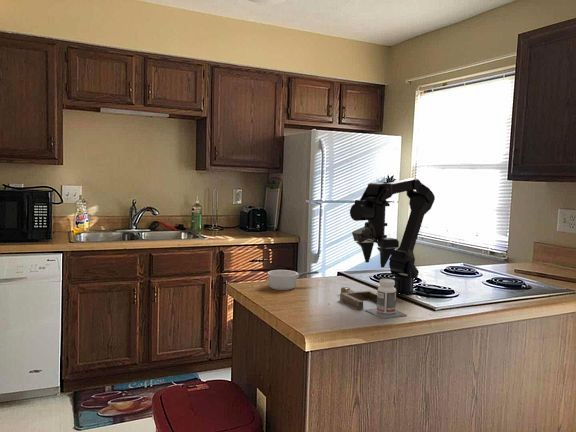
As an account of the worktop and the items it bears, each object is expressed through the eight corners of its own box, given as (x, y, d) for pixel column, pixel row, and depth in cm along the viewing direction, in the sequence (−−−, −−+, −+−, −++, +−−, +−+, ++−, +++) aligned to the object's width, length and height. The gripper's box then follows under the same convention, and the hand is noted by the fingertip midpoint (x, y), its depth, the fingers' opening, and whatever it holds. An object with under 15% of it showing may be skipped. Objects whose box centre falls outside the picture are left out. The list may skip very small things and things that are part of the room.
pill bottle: (395, 310, 152) (396, 279, 151) (395, 315, 146) (397, 283, 145) (376, 308, 153) (378, 277, 152) (376, 313, 147) (377, 281, 146)
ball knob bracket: (357, 291, 175) (357, 285, 175) (390, 306, 157) (390, 298, 157) (328, 294, 171) (328, 287, 170) (358, 309, 152) (359, 302, 152)
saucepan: (323, 289, 179) (323, 274, 178) (271, 292, 172) (272, 276, 172) (311, 282, 190) (312, 268, 189) (263, 284, 183) (263, 270, 183)
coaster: (389, 308, 155) (389, 306, 155) (406, 315, 147) (406, 314, 147) (365, 310, 152) (365, 309, 151) (382, 318, 143) (382, 317, 143)
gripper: (341, 217, 169) (340, 261, 170) (372, 223, 152) (370, 271, 153) (368, 216, 173) (366, 259, 175) (400, 222, 156) (398, 269, 158)
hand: (374, 264), depth 165 cm, fingers open, 9 cm apart
